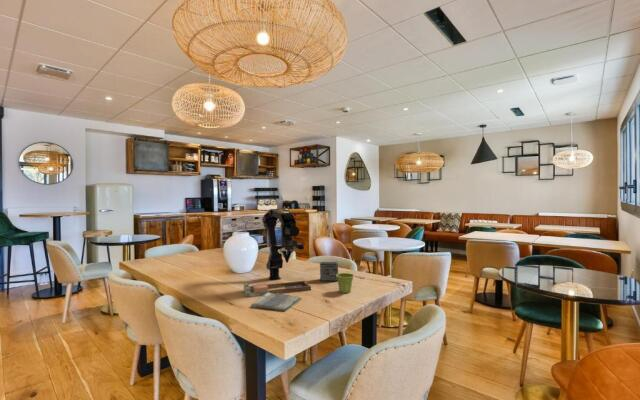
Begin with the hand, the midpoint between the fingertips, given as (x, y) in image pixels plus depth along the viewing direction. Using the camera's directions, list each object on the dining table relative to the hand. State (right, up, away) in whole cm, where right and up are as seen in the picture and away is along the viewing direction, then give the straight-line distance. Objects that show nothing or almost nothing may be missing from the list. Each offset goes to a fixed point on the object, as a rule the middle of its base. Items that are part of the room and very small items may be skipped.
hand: (287, 262), depth 179 cm
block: (-13, -14, -13) cm, 23 cm away
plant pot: (+32, -13, -12) cm, 37 cm away
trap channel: (-4, -13, -9) cm, 16 cm away
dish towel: (-2, -14, -29) cm, 32 cm away
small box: (+24, -13, +10) cm, 29 cm away
